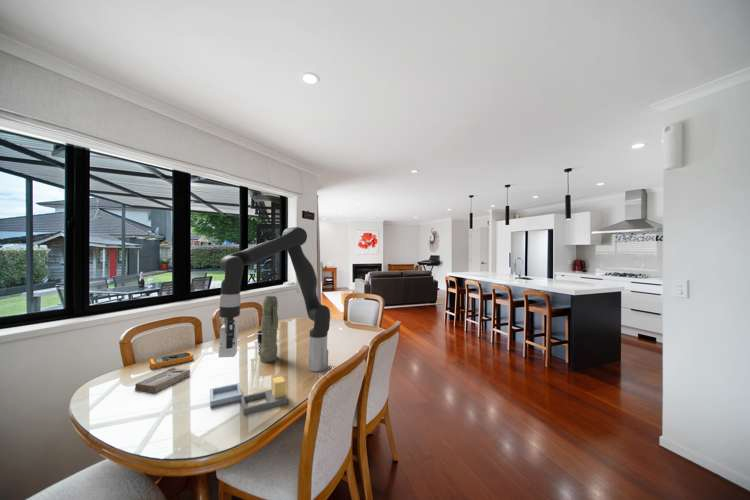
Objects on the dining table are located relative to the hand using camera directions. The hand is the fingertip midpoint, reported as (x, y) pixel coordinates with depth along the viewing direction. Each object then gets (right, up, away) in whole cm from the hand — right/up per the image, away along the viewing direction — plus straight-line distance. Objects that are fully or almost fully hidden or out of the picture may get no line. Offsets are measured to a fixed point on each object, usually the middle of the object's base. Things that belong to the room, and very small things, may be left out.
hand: (228, 345), depth 114 cm
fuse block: (+14, -22, -2) cm, 27 cm away
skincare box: (0, -4, 0) cm, 4 cm away
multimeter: (-47, -21, +33) cm, 61 cm away
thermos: (+1, -22, +41) cm, 46 cm away
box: (-35, -21, +12) cm, 43 cm away
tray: (-2, -22, +1) cm, 22 cm away
